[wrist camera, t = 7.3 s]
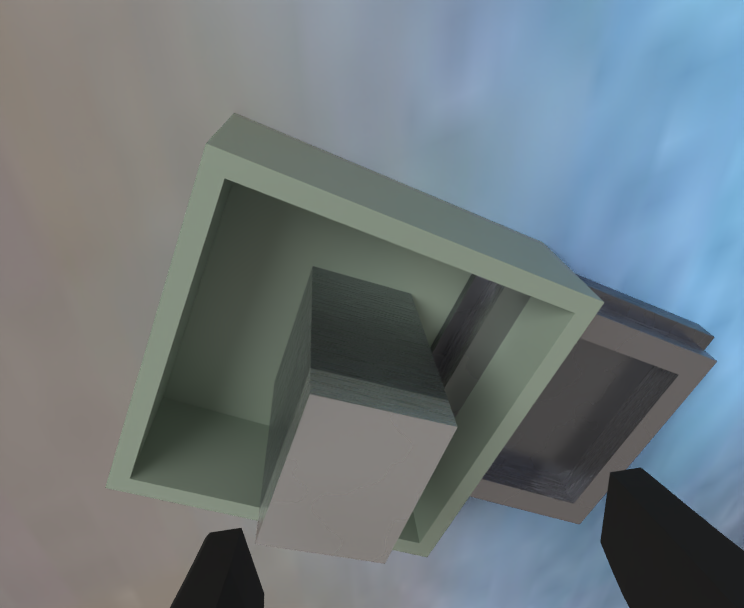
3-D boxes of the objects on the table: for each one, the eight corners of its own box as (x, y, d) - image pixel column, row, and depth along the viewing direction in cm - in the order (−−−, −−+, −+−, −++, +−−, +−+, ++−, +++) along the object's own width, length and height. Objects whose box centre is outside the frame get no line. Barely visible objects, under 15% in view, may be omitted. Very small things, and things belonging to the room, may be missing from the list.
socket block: (697, 324, 21) (736, 354, 19) (562, 494, 25) (582, 534, 23) (483, 236, 18) (503, 261, 17) (369, 442, 22) (374, 482, 21)
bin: (542, 242, 19) (604, 302, 15) (407, 464, 23) (427, 557, 19) (234, 112, 16) (206, 143, 12) (147, 395, 20) (105, 487, 16)
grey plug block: (410, 293, 19) (457, 427, 12) (364, 402, 21) (385, 563, 15) (312, 265, 18) (309, 394, 12) (274, 382, 20) (255, 543, 14)
